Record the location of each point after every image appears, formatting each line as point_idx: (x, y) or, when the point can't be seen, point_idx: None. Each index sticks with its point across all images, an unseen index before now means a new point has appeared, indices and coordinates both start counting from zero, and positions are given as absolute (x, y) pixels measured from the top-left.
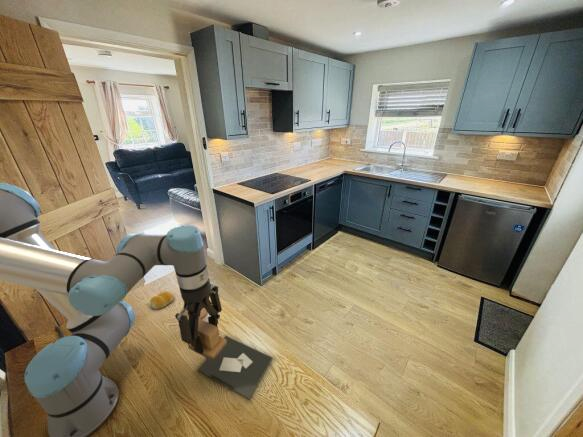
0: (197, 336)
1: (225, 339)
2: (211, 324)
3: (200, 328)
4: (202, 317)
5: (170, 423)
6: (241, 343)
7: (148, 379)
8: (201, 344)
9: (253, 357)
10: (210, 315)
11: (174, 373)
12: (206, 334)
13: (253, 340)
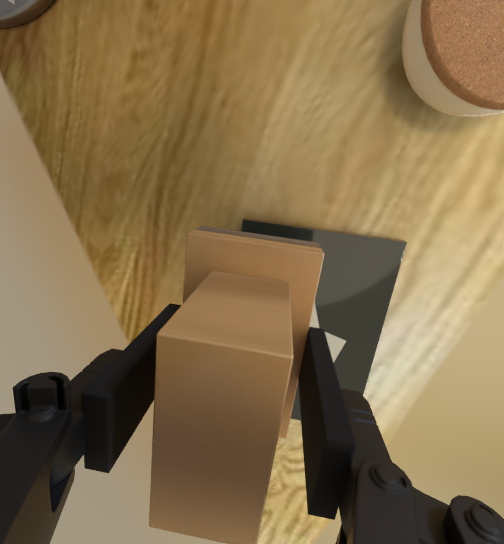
0: (97, 456)
1: (284, 433)
2: (262, 499)
3: (184, 431)
4: (475, 99)
5: (96, 237)
6: (383, 319)
7: (152, 47)
8: (151, 398)
9: (338, 378)
10: (354, 481)
11: (206, 135)
12: (153, 503)
13: (409, 347)
